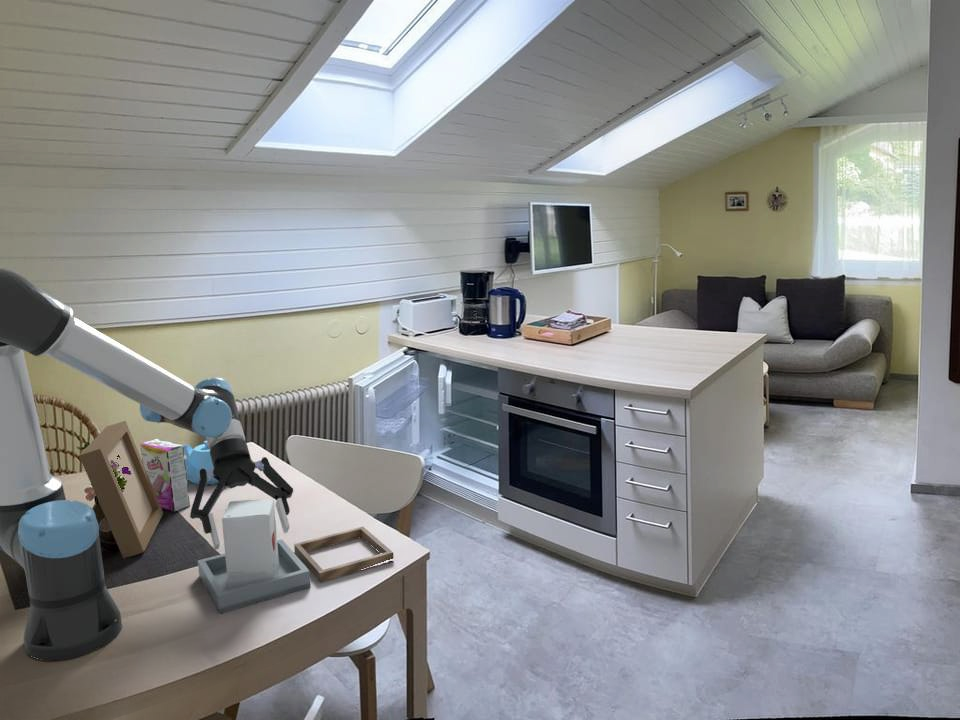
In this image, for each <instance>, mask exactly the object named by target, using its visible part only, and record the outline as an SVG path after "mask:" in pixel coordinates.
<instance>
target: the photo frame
mask: <svg viewBox="0 0 960 720" xmlns="http://www.w3.org/2000/svg"><path fill="white" fill-rule="evenodd" d="M118 455H119V456H120V458H121V459H120V458H119V457H117V456H118ZM78 456H79V459H80V462H81V464H82V466H83V469H84V471H85V473H86V475H87V478H88V480H89V482H90V484H91V487H92V489H93V491H94V494H95V496H96V499H98V502H99V503H98V504H96V501H95V502H94V504H93V506H92V507H91V508H92V509H93V510H94V512H95V515H96V519H97V521H98V525H99V523H100V521H101V519H102V518H103V515H105V516H104V518H105V520H106V521H107V524H108V526H109V529H110V531H111V533H112V535H113V538H114V540H115V542H116V544H117V547H118V549H119V552H120V554H121V556H122V559H123V558H124V559H126V558H125V557H127V558H130V557H132V556H135V555H139V554H142V553H144V552H145V550H146V549H147V547H148V545H149V543H150V540H151V538H152V537H153V535H154V532H155V530H156V528H157V527H158V525H159V523H160V521H161V518H162V517H163V515H164V511H163V508H161V506H160V504H159V501H158V499H157V496H156V494H155V491H154V489H153V486H152V484H151V482H150V479H149V477H148V474H147V472H146V469H145V467H144V465H143V461H142V456H141V454H140V453H139V450H138V448H137V446H136V443H135V441H134V438H133V436H132V434H131V431H130V428H129V426H128V423H127V422H126V420H123V421H120V422H116V423H114V424H111V425H107V426H106V427H104V429H102V431H101V432H100V433H99V434H98V435H97V436H96V437H95V438H94V439H93V440H92V441H91V442H90V443H89V445H87V446H86V447H85V448H84V449H83V450H82V452H80V454H79V455H78ZM117 458H118V459H117ZM111 460H113V461H114V462H117V463H118V464H119V466H120V475H121V476H123V477H124V478H126V479H127V483H126V485H125V490H124V492H122V491H121V488H120V486H119V484H118V481H117V479H116V477H115V474H114V472H113V469H112V467H111V465H110V461H111ZM123 467H128V468H129V469H130V471H131V472H132V474H131V475H127V474H123V473H122V471H121V470H122V468H123Z"/></svg>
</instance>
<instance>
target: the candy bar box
mask: <svg viewBox="0 0 960 720" xmlns="http://www.w3.org/2000/svg"><path fill="white" fill-rule="evenodd" d="M139 444H140V452H141V460H142V462H143V465H144V467H145V469H146V472H147V474H148V477H149V479H150V482H151V484H152V486H153V489H154V491H155V494H156V496H157V499H158V501H159V504H160V506H161V508H162V509H163V508H164V510H166V509H168V510H167V511H169V510H171V511H170V512H173V511H174V512H173V513H176V512H175V511H177V512H179V511H181V509H182V510H183V509H186V508H189V507H190V506H191V504H190V503H191V502H190V494H189V487H188V479H187V474H186V466H185V458H186V456H185V453H184V449H183V445H184V444H178V443H175V442H170V441H167V440H164V439H163V440H162V439H159V438H155V439H151V440H148V441H144V442H141V443H139ZM178 510H179V511H178Z"/></svg>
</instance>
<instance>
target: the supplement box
mask: <svg viewBox="0 0 960 720" xmlns="http://www.w3.org/2000/svg"><path fill="white" fill-rule="evenodd" d="M221 523H222V524H221V525H222V534H223V535H222V536H223V545H224V554H225V558H226V569H227V580H228V590H231V589H235V588H238V587H242V586H246V585H249V584H253V583H256V582H260V581H264V580H267V579H271V578H274V577H277V573H278V569H279V558H278V546H277V540H278V535H277V522H276V512H275V499H274V498H272V497H271V498H270V497H269V498H260V499H245V500H232V501H230V502H229V503H228V505H227V508H225V511H224V514H223V516H222V518H221Z"/></svg>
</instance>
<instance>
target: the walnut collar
mask: <svg viewBox="0 0 960 720" xmlns="http://www.w3.org/2000/svg"><path fill="white" fill-rule="evenodd" d="M359 537H360V538H361V537H362V538H363V541H365V542H366V541H367V542H368V543H369V544H370V545H372V546H373V547H374V548H375V549H377V550H378V551H379V552H380V553H382V554H379V553H377V554H375V555H371V556H367V557H364V558H360V559H358V560H357V559H356V560H353V561H350V562H346V563H343V564H342V563H341V564H340V565H336V566H332V567H329V568H326V569H323V568H322V567H321V566H320V565H319V564H318V563H317V561H316V560H315V559H313V557H312V556H311V555H310V554H309V552H311V551H316V550H318V549H322V548H326V547H329V546H334V545H337V544H336V543H338V544H341V543H340V542H342V543H345V542H348V540H349V541H352V539H353V540H356V538H357V539H360V538H359ZM362 538H361V539H362ZM344 541H345V542H344ZM367 542H366V543H367ZM368 543H367V544H368ZM333 544H334V545H333ZM369 544H368V545H369ZM370 545H369V546H370ZM293 546H294V547H293V548H294V554H295V555H296V556H297V557H298V558H299V559H300V561H301V562H302V563H303V564H304V565H305V566H306V567H307V569H308V570H309V572H311V573H312V574H313V576H314V577H315V578H316V579H317V580H318V582H320V583H324V582H327V581H331V580H335V579H338V578H341V577H340V576H342V577H344V575H345V576H348V575H352V574H354V573H353V572H355V573H357V572H356V571H359V570H361V569H364V568H367V567H370V566H373V565H375V564H378V563H381V562H384V561H386V560H390V559H393V558H394V555H395V554H394V551H393V550H391V549H390V548H388V547H387V546H386V545H385V544H384V543H383V542H382V541H381V540H379V538H378V537H376V536H375V535H374V534H372V532H370V531H369V530H368V529H366V528H365V527H364V526H360V527H356V528H355V527H354V528H352V529H347V530H344V531H341V532H335V533H332V534H328V535H326V536H325V535H323V536H321V537H317V538H313V539H307V540H305V541H301V542H297V543H294V544H293ZM373 547H372V548H373ZM374 548H373V549H374ZM375 549H374V550H375ZM394 559H395V558H394ZM359 572H360V571H359ZM351 573H352V574H351ZM347 574H348V575H347Z"/></svg>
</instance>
